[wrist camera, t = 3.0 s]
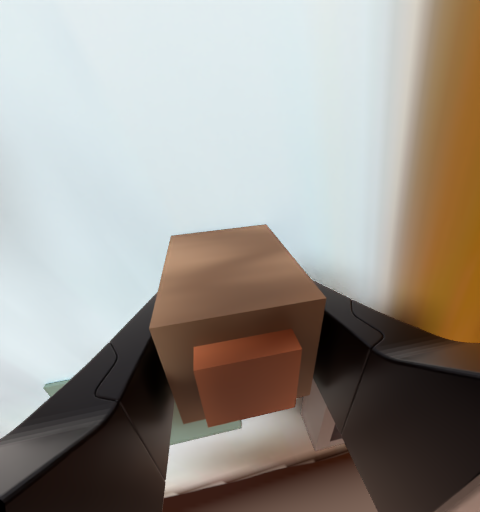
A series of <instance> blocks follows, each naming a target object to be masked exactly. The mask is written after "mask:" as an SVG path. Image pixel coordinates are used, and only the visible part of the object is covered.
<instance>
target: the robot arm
mask: <svg viewBox="0 0 480 512" xmlns="http://www.w3.org/2000/svg"><path fill="white" fill-rule="evenodd" d="M312 281H313V280H312ZM313 282H314V283H315V285H316V286H317V287H318V288H319V290H320V291H321V292H322V293H323V294H324V296H325V297H326V304H325V310H324V315H323V321H322V327H321V333H320V339H319V344H318V350H317V356H316V362H315V368H314V373H313V379H314V381H315V383H316V385H317V387H318V389H319V391H320V394H321V396H322V398H323V400H324V402H325V404H326V406H327V408H328V410H329V412H330V414H331V416H332V418H333V420H334V422H335V424H336V426H337V428H338V430H339V432H340V434H341V437H342V439H343V441H344V443H345V445H346V447H347V449H348V451H349V453H350V455H351V457H352V459H353V461H354V463H355V466H356V468H357V470H358V472H359V474H360V476H361V478H362V480H363V482H364V484H365V486H366V488H367V490H368V492H369V494H370V496H371V498H372V500H373V502H374V504H375V506H376V508H377V510H378V512H480V343H465V342H458V341H453V340H449V339H445V338H442V337H439V336H436V335H434V334H431V333H429V332H426V331H424V330H421V329H419V328H416V327H414V326H412V325H409V324H407V323H404V322H402V321H399V320H397V319H394V318H392V317H389V316H387V315H385V314H382V313H380V312H378V311H375V310H373V309H371V308H369V307H367V306H364V305H362V304H360V303H358V302H356V301H354V300H351V299H350V298H348V297H346V296H344V295H342V294H339V293H337V292H335V291H333V290H331V289H329V288H327V287H325V286H323V285H321V284H319V283H317V282H315V281H313ZM157 293H158V292H157ZM157 293H156V294H155V295H154V296H153V297H152V298H151V299H150V300H149V302H148V303H147V304H146V305H145V306H144V307H143V308H142V309H141V310H140V311H139V312H138V313H137V314H136V315H135V316H134V317H133V318H132V319H131V320H130V321H129V322H128V323H127V324H126V325H125V326H124V327H123V328H122V329H121V330H120V331H119V332H118V333H117V334H116V336H115V337H114V338H113V339H112V340H111V341H110V343H108V344H107V345H106V346H105V347H104V348H103V349H102V350H101V351H100V352H99V353H98V354H97V355H96V356H95V357H94V358H93V359H92V360H91V361H90V362H89V363H88V364H87V365H86V366H85V367H83V368H82V369H81V370H80V371H79V372H78V373H77V374H76V375H75V376H74V377H73V378H72V379H70V380H69V381H68V382H67V383H66V384H65V385H64V386H63V387H62V388H60V389H59V390H58V391H57V392H56V393H55V394H54V395H53V396H51V397H50V398H49V399H48V400H47V401H46V402H45V403H44V404H42V405H41V406H40V407H39V408H38V409H37V410H36V411H35V412H33V413H32V414H31V415H30V416H29V417H28V418H27V419H26V420H24V421H23V422H22V423H21V424H20V425H19V426H17V427H16V428H15V429H14V430H12V431H11V432H10V433H8V434H7V435H6V436H4V437H3V438H1V439H0V512H162V508H163V499H164V490H165V479H166V472H167V463H168V455H169V446H170V437H171V428H172V420H173V411H174V402H175V399H174V397H173V394H172V391H171V388H170V386H169V383H168V380H167V377H166V374H165V372H164V369H163V366H162V363H161V361H160V358H159V355H158V352H157V349H156V347H155V344H154V341H153V338H152V336H151V333H150V330H149V327H150V322H151V318H152V314H153V310H154V306H155V301H156V297H157Z"/></svg>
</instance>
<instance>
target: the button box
mask: <svg viewBox="0 0 480 512" xmlns="http://www.w3.org/2000/svg"><path fill="white" fill-rule="evenodd" d="M301 416H302V419H303V421H304V424H305V427H306V429H307V432H308V434H309V437H310V440H311V442H312V445H313V448H314V450H315V451H319V450H322V449H326V448H330V447H334V446H337V445H341V444H345V443H344V441H343V439H342V437H341V434H340V432H339V430H338V428H337V426H336V424H335V422H334V420H333V418H332V416H331V414H330V412H329V410H328V408H327V406H326V404H325V402H324V400H323V398H322V396H321V394H320V391H319V389H318V387H317V385H316V383H315V381H314V379H312V385H311V391H310V395H308V396H304V397H303V402H302V408H301Z"/></svg>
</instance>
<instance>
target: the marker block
mask: <svg viewBox="0 0 480 512" xmlns="http://www.w3.org/2000/svg"><path fill="white" fill-rule="evenodd" d="M325 304H326V297H325V296H324V294H323V293H322V292H321V291H320V290H319V288H318V287H317V286H316V285H315V283H314V282H313V281H312V280H311V279H310V277H309V276H308V275H307V274H306V272H305V271H304V270H303V269H302V268H301V266H300V265H299V264H298V263H297V262H296V260H295V259H294V258H293V257H292V255H291V254H290V253H289V252H288V251H287V249H286V248H285V247H284V246H283V244H282V243H281V242H280V241H279V240H278V238H277V237H276V236H275V235H274V233H273V232H272V231H271V230H270V229H269V227H268V226H267V225H257V226H249V227H241V228H232V229H224V230H216V231H207V232H199V233H191V234H183V235H174V236H171V238H170V242H169V247H168V251H167V255H166V259H165V264H164V268H163V272H162V276H161V280H160V285H159V289H158V293H157V297H156V301H155V306H154V310H153V314H152V318H151V322H150V327H149V330H150V333H151V336H152V338H153V341H154V344H155V347H156V349H157V352H158V355H159V358H160V361H161V363H162V366H163V369H164V372H165V374H166V377H167V380H168V383H169V386H170V388H171V391H172V394H173V397H174V399H175V402H176V405H177V408H178V411H179V413H180V416H181V419H182V422H183V424H187V423H191V422H196V421H200V420H204V419H206V422H207V426H208V428H209V427H213V426H217V425H222V424H226V423H230V422H234V421H239V420H243V419H247V418H251V417H255V416H260V415H264V414H268V413H272V412H277V411H281V410H285V409H289V408H294V407H295V404H296V398H300V397H304V396H308V395H310V391H311V385H312V379H313V373H314V368H315V362H316V356H317V350H318V344H319V339H320V333H321V327H322V321H323V315H324V310H325Z"/></svg>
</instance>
